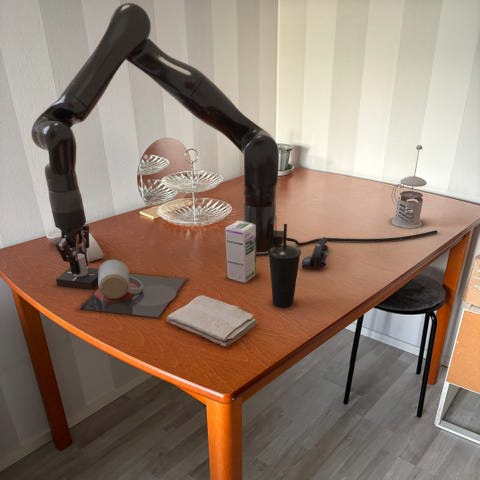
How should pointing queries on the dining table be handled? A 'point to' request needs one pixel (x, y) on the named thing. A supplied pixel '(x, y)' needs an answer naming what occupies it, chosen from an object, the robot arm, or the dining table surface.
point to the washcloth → (213, 320)
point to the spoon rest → (94, 249)
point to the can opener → (317, 255)
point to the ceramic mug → (116, 280)
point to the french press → (409, 202)
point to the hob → (139, 297)
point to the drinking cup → (283, 272)
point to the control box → (79, 279)
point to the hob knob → (82, 266)
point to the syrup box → (241, 251)
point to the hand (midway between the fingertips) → (80, 269)
